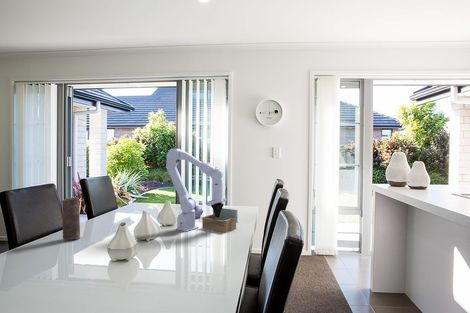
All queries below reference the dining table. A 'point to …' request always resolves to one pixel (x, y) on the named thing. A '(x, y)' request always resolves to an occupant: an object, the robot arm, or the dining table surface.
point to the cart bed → (218, 224)
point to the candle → (71, 218)
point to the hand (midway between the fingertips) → (217, 217)
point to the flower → (198, 212)
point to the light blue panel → (227, 214)
